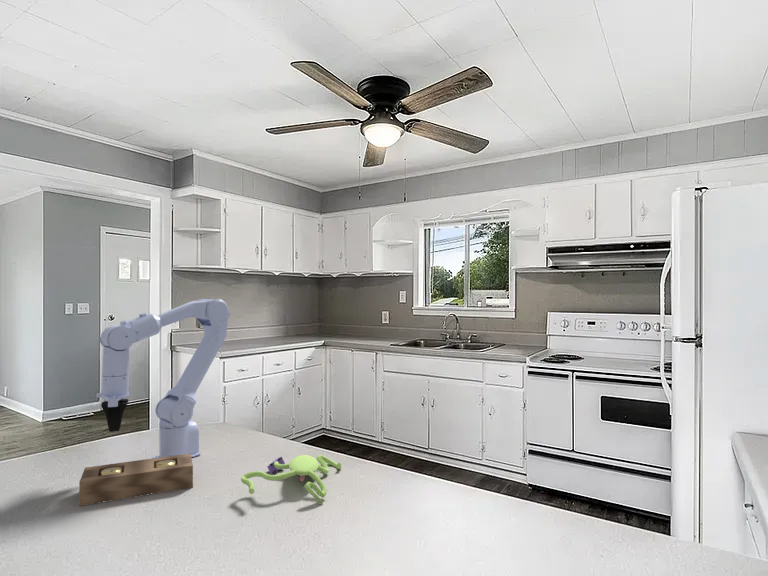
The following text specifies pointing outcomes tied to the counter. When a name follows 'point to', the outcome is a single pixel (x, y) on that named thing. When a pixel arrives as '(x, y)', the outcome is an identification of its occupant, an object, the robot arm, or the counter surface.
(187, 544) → the counter surface
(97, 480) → the block
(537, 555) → the counter surface
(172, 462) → the peg
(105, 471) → the peg
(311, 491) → the figurine
